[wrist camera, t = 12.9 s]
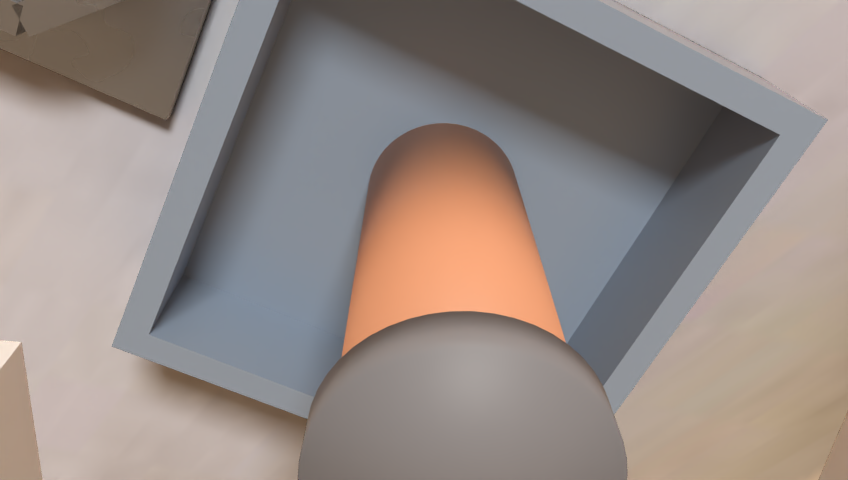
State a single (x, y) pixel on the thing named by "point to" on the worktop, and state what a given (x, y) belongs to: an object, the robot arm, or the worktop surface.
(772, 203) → the worktop surface
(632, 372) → the bin
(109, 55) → the socket base
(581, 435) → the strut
